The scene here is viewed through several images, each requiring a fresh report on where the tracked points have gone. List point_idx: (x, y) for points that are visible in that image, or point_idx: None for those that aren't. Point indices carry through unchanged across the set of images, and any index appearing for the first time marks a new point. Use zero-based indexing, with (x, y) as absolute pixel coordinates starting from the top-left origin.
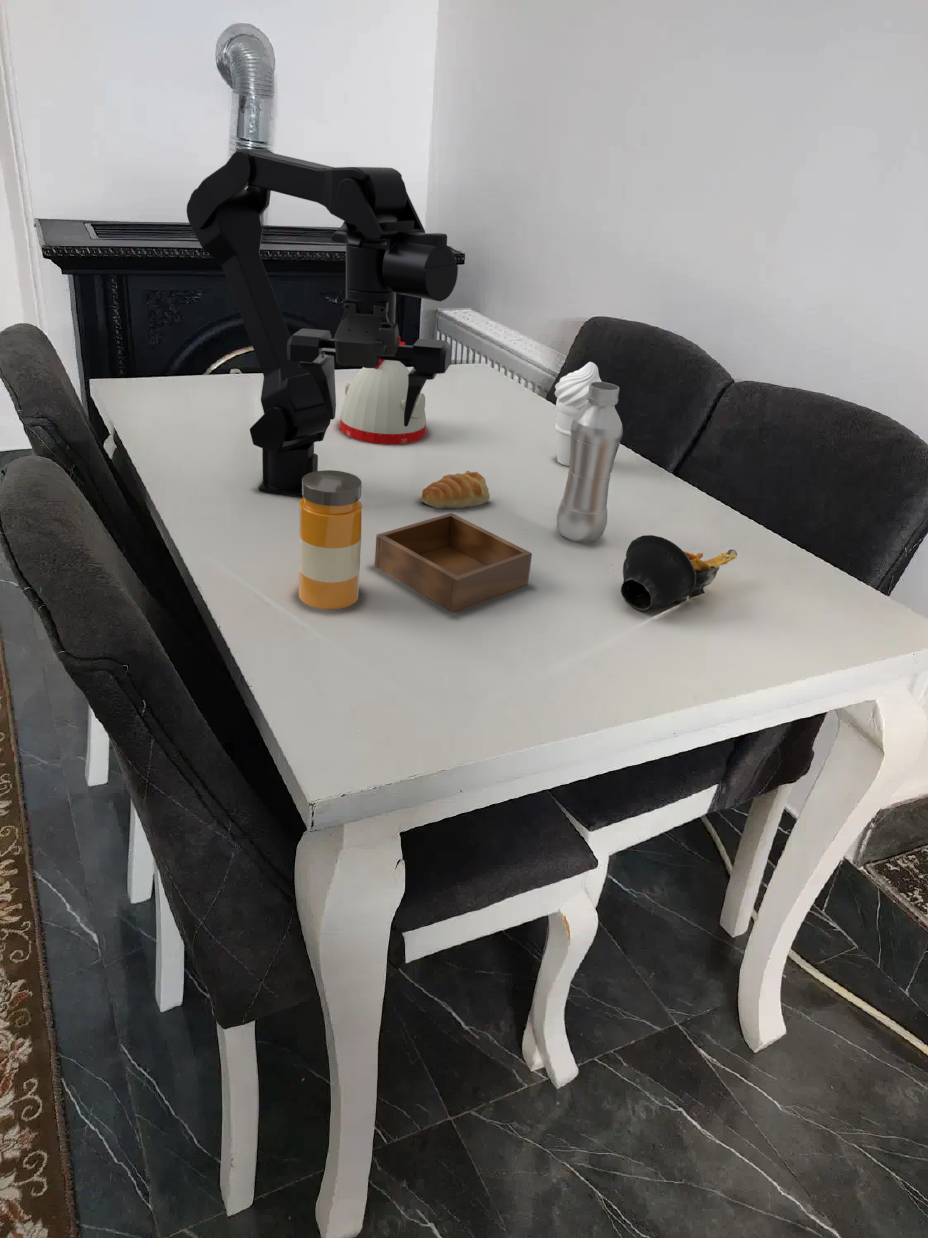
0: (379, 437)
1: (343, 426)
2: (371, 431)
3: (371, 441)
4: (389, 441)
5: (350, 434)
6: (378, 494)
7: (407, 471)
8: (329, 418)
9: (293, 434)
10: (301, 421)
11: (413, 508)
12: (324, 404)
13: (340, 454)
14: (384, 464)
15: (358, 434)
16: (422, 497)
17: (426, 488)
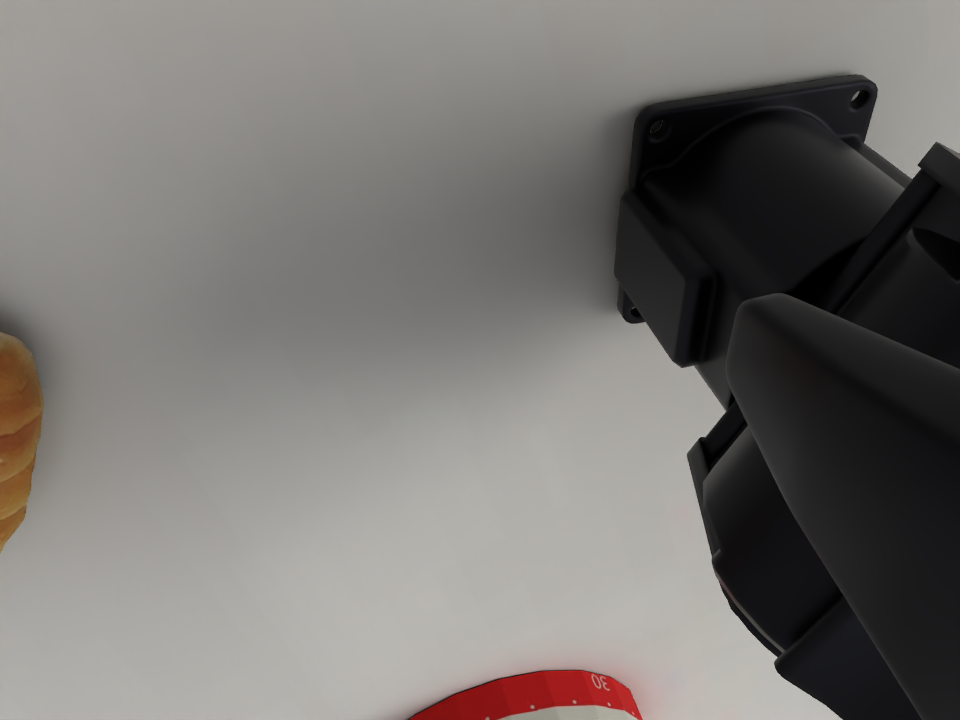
0: (485, 707)
1: (625, 700)
2: (521, 716)
3: (508, 681)
4: (446, 709)
5: (589, 679)
6: (299, 331)
7: (285, 579)
8: (726, 532)
9: (932, 248)
10: (951, 332)
11: (38, 271)
12: (819, 604)
13: (585, 560)
14: (399, 580)
15: (562, 688)
16: (5, 350)
17: (2, 413)
